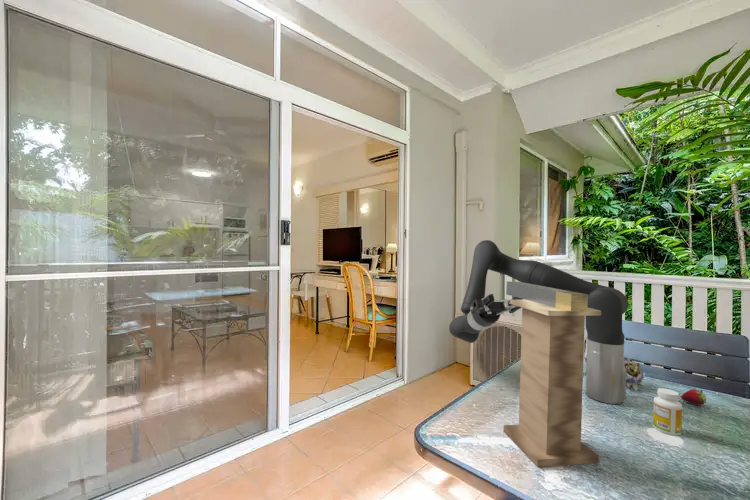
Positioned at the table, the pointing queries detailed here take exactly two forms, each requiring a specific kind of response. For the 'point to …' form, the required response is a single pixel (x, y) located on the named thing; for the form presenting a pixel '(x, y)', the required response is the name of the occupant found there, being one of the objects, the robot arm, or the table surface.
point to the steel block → (549, 296)
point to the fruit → (694, 397)
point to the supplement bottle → (667, 412)
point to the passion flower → (633, 374)
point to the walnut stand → (551, 386)
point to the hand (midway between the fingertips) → (506, 297)
